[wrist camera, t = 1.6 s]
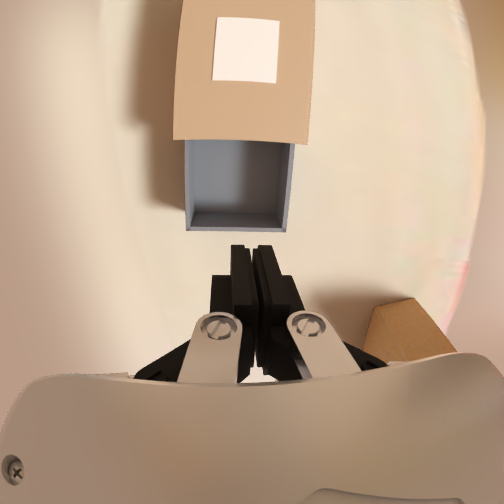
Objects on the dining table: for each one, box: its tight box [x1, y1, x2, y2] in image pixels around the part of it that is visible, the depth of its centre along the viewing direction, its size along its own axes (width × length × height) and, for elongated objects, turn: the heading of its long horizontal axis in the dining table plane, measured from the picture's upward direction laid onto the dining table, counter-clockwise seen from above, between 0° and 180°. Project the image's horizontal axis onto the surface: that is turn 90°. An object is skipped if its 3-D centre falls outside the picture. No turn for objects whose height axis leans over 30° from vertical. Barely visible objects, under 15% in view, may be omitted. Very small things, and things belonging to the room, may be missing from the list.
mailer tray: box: [185, 139, 295, 232], centre depth 24 cm, size 15×9×4 cm, turn 177°
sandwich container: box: [362, 298, 457, 364], centre depth 36 cm, size 9×15×15 cm, turn 5°
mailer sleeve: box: [173, 0, 315, 145], centre depth 19 cm, size 16×11×6 cm
